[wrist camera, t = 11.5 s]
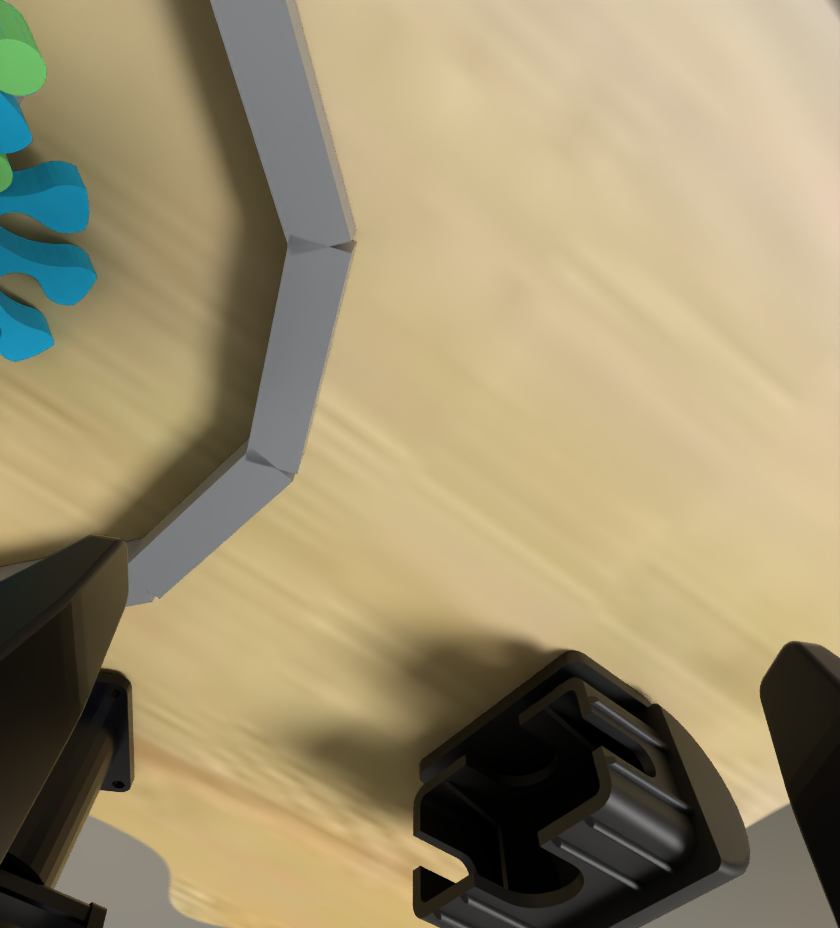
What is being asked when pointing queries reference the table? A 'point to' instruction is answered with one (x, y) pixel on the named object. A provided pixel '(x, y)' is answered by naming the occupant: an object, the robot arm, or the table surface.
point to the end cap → (573, 810)
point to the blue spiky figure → (34, 201)
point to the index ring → (299, 299)
